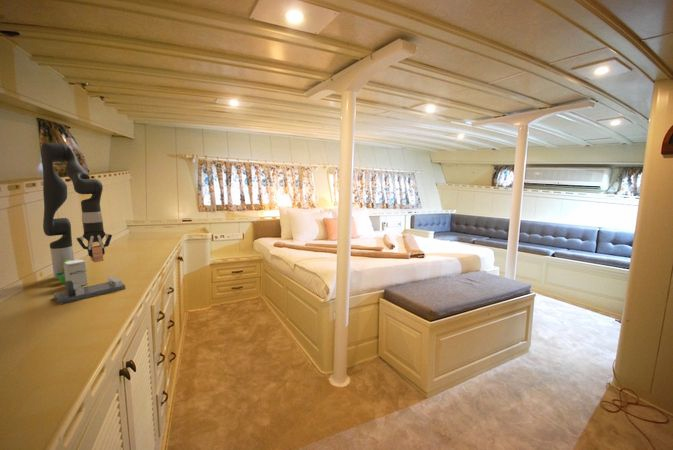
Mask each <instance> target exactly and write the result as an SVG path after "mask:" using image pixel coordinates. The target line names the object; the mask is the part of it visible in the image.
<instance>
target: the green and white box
mask: <svg viewBox="0 0 673 450" xmlns="http://www.w3.org/2000/svg"><path fill="white" fill-rule="evenodd" d="M67 261H70V260H65V261H64V262H67ZM62 268H63V270H64V265H63V267H62ZM87 271H88V270H87V269H86V272H87ZM56 275H57V276H58V278H59V279H58V280H59V282H60V283H61V284H63V285H65V281H66V279H65V271H63V272H60V273H56Z"/></svg>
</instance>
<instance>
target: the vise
mask: <svg viewBox="0 0 673 450" xmlns="http://www.w3.org/2000/svg"><path fill="white" fill-rule="evenodd" d="M81 287H82V286H81ZM82 288H83V289H84V294H82V295H78V296H76V295H75V294H72V295H68V294H67V293H66V290H64V291H59V292H55V293H52V294H53V299H54V300H55V301H56V302H57V304H58V305H62V304H67V303H71V302H75V301H79V300H84V299H87V298H92V296H93V297H96V296H101V295H104V294H109V293H114V292H117V291H120V290H121V291H122V290H126V284H124V283H123V280H122V279H120V278H119V277H117V276H116V275H112V276H108V277H107V281H105V282H102V283H96V284H93V285H87V286H83V287H82Z"/></svg>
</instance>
